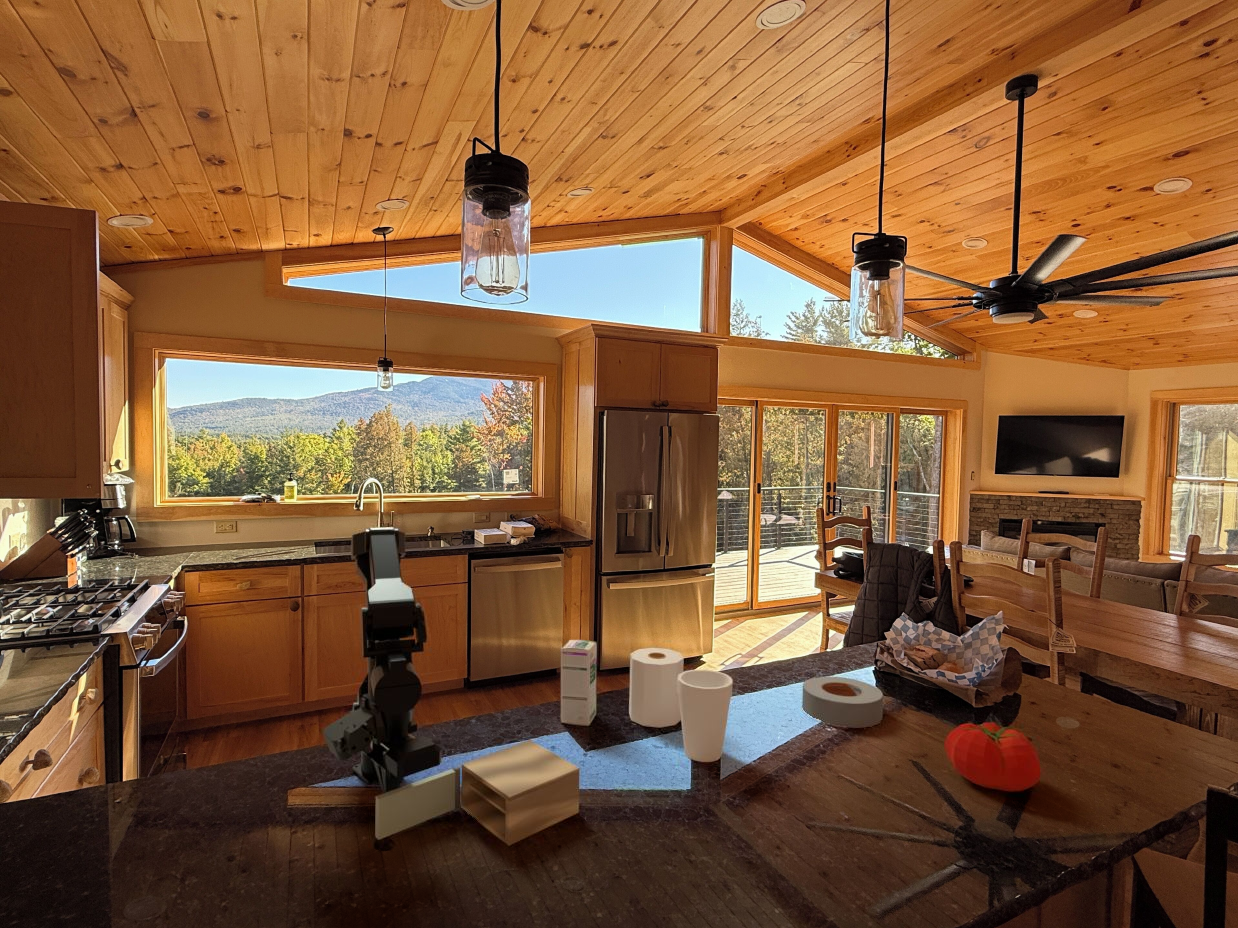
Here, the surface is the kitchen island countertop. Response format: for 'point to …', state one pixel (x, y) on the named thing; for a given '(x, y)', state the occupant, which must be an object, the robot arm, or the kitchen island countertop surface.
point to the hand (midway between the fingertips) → (389, 798)
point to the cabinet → (519, 790)
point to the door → (417, 802)
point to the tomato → (993, 756)
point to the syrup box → (578, 682)
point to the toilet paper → (655, 687)
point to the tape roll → (842, 701)
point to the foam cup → (704, 712)
